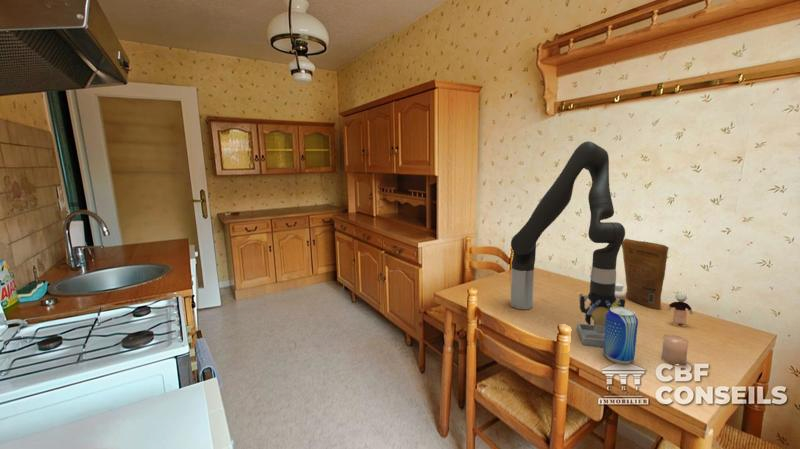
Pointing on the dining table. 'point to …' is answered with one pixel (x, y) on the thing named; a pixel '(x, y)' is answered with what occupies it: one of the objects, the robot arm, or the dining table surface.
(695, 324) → the dining table surface
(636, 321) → the beer can
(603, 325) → the light bulb
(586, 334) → the tray
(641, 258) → the pancake mix bag
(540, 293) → the dining table surface
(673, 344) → the beige rounded block
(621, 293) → the supplement bottle
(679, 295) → the grandmother figurine
